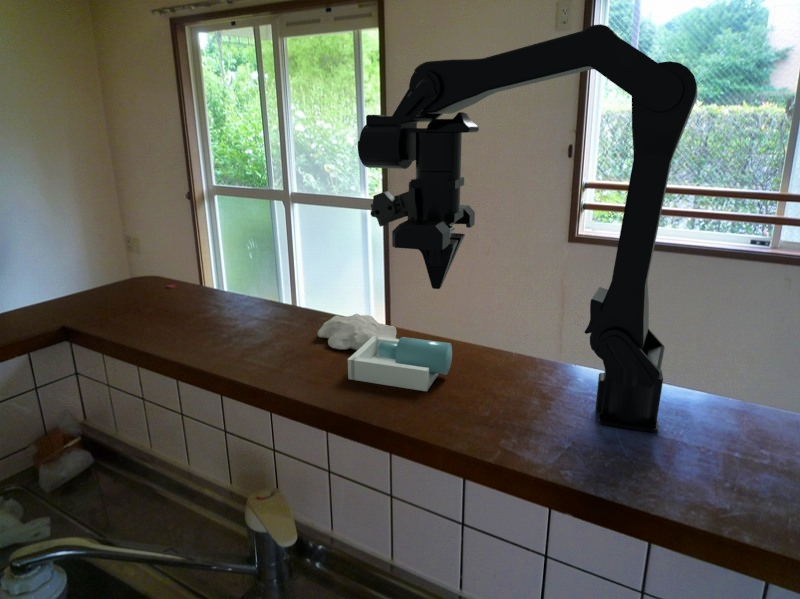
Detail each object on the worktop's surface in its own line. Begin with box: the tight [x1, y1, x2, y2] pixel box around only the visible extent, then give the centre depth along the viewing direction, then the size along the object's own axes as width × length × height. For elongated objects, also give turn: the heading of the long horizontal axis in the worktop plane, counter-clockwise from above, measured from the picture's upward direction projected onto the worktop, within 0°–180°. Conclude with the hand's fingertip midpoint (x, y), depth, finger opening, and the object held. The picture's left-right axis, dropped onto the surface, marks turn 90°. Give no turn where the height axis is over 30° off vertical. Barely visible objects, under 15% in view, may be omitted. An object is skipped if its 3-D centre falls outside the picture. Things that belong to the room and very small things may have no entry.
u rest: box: [347, 336, 439, 392], centre depth 80 cm, size 12×9×3 cm
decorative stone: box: [317, 313, 397, 351], centre depth 91 cm, size 11×4×15 cm
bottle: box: [378, 336, 453, 376], centre depth 78 cm, size 4×4×10 cm
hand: (436, 288), depth 75 cm, fingers closed
